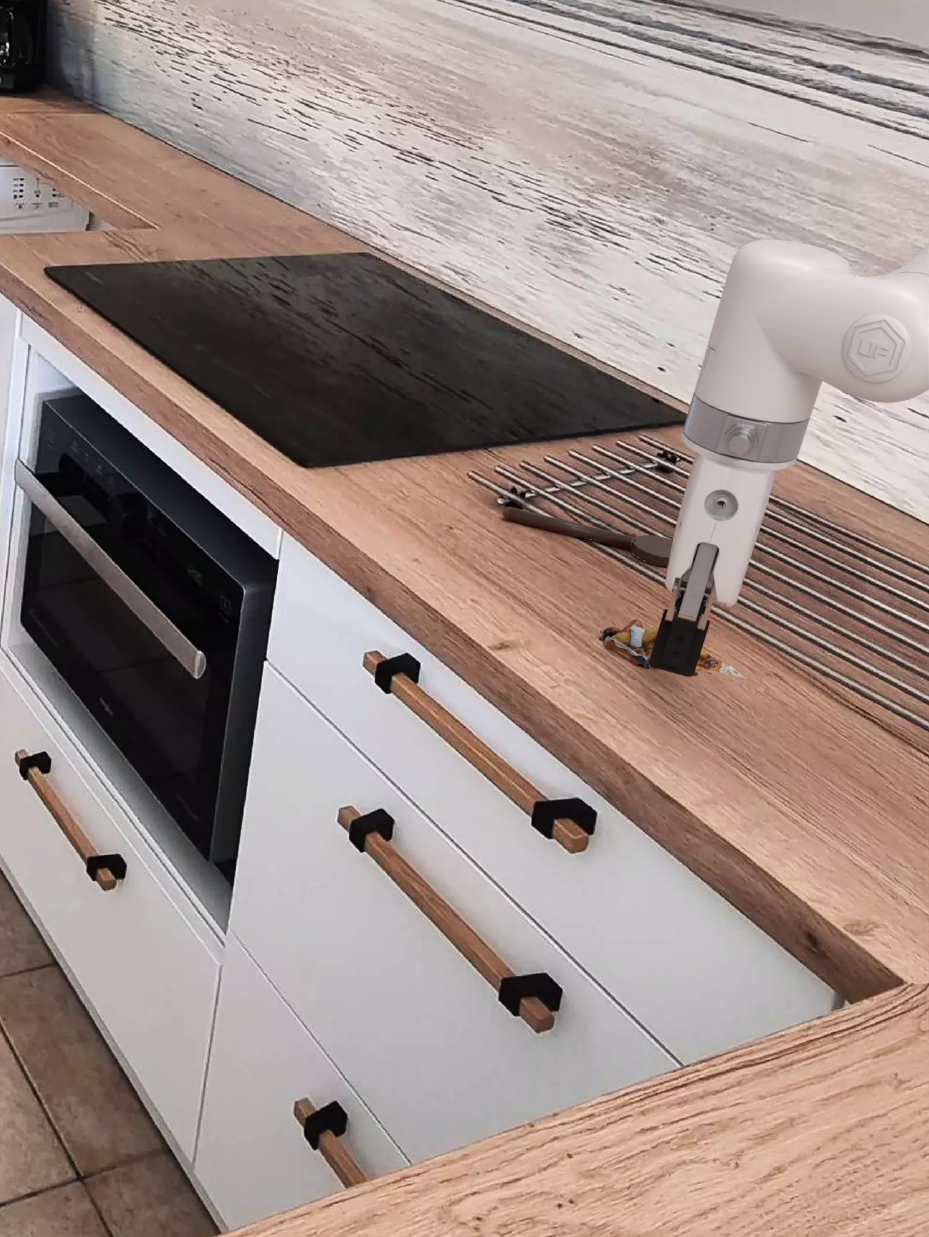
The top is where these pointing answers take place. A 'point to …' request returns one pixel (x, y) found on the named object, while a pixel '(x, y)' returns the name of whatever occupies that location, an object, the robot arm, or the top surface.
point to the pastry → (642, 640)
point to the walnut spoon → (598, 535)
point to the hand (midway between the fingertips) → (671, 667)
